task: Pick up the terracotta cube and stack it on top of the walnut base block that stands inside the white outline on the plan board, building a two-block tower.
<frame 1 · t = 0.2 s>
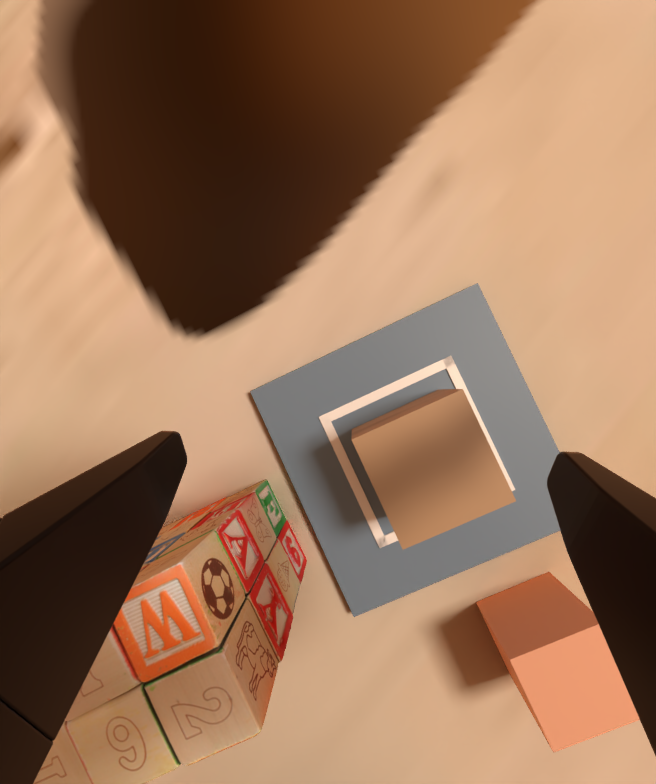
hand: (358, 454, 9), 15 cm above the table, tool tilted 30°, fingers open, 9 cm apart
terracotta cube: (528, 622, 23), on the table
walnut base block: (414, 452, 22), point 1 cm above the table, touching plan board
stack of blocks: (154, 581, 25), on the table
plan board: (413, 450, 23), on the table
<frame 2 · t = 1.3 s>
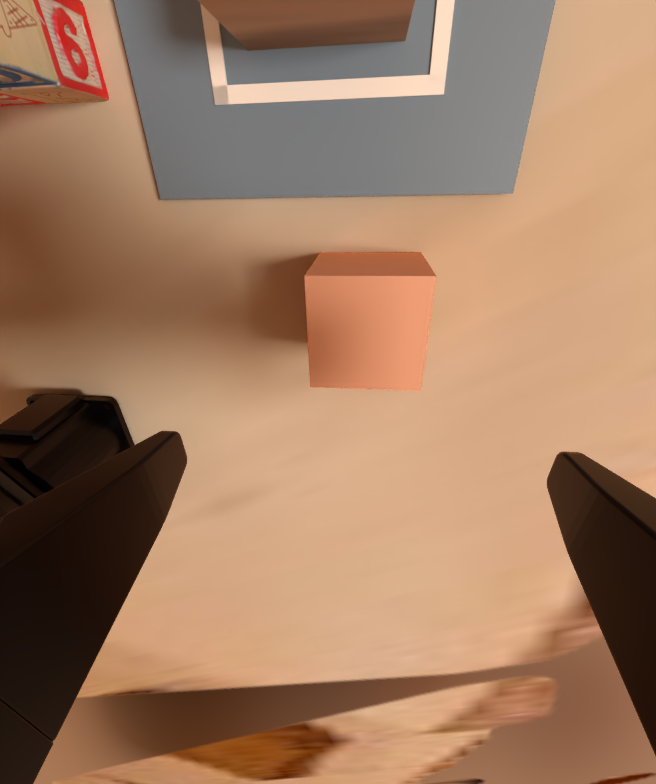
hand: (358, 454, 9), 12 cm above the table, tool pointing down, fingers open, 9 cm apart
terracotta cube: (367, 301, 19), on the table
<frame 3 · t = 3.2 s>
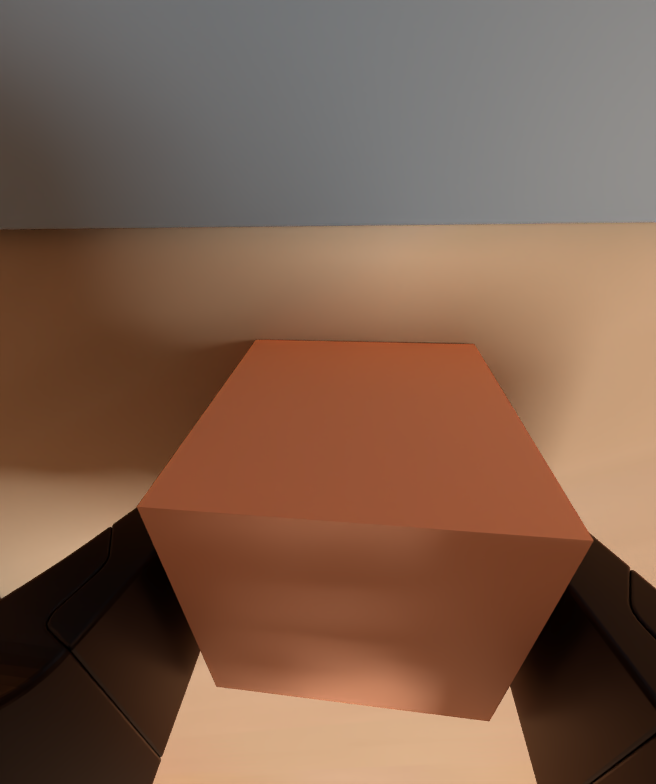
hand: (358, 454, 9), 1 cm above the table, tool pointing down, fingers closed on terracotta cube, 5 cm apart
terracotta cube: (359, 428, 9), on the table, touching gripper
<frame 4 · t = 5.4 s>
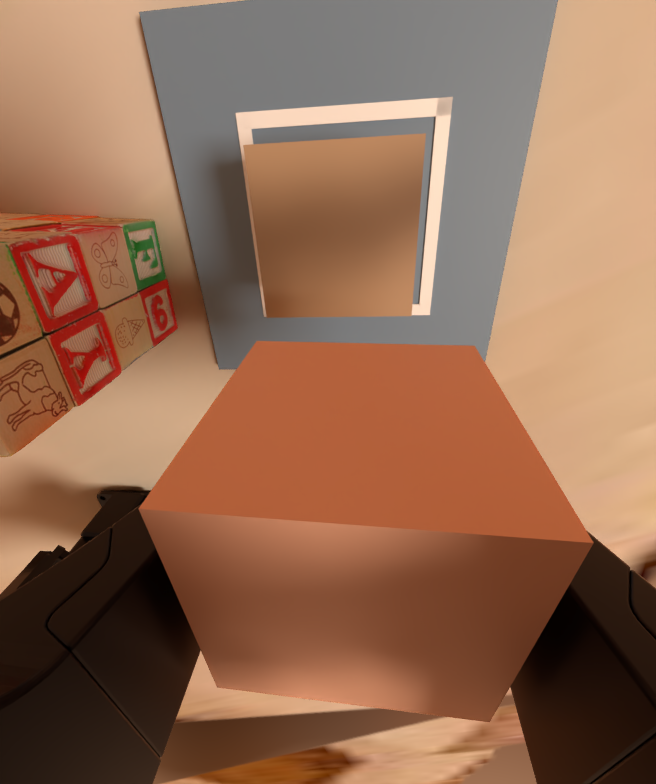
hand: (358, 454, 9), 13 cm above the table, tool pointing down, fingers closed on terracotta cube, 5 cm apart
terracotta cube: (359, 429, 9), point 12 cm above the table, touching gripper
walnut base block: (343, 224, 17), point 1 cm above the table, touching plan board
stack of blocks: (1, 269, 21), on the table
plan board: (343, 223, 18), on the table
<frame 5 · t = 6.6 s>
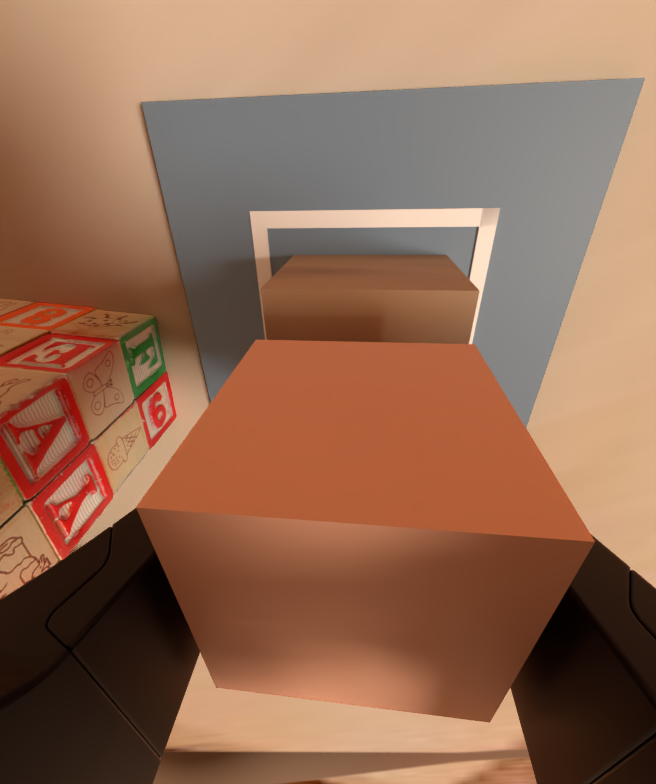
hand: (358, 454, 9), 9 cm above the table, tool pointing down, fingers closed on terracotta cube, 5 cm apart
terracotta cube: (359, 428, 9), point 8 cm above the table, touching gripper
walnut base block: (365, 326, 16), point 1 cm above the table, touching plan board
plan board: (366, 322, 16), on the table
when the fingers open (8 cm above the table, at t = 7.6 s): terracotta cube drops 1 cm, resting on walnut base block.
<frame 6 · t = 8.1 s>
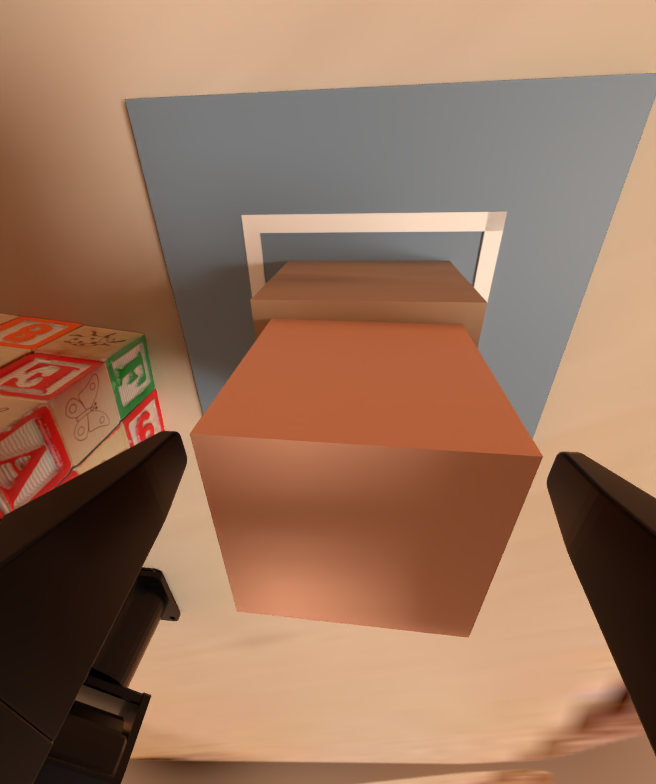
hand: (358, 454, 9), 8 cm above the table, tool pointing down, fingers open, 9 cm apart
terracotta cube: (360, 401, 11), point 6 cm above the table, touching walnut base block
walnut base block: (364, 335, 15), point 1 cm above the table, touching plan board, terracotta cube
plan board: (364, 330, 15), on the table
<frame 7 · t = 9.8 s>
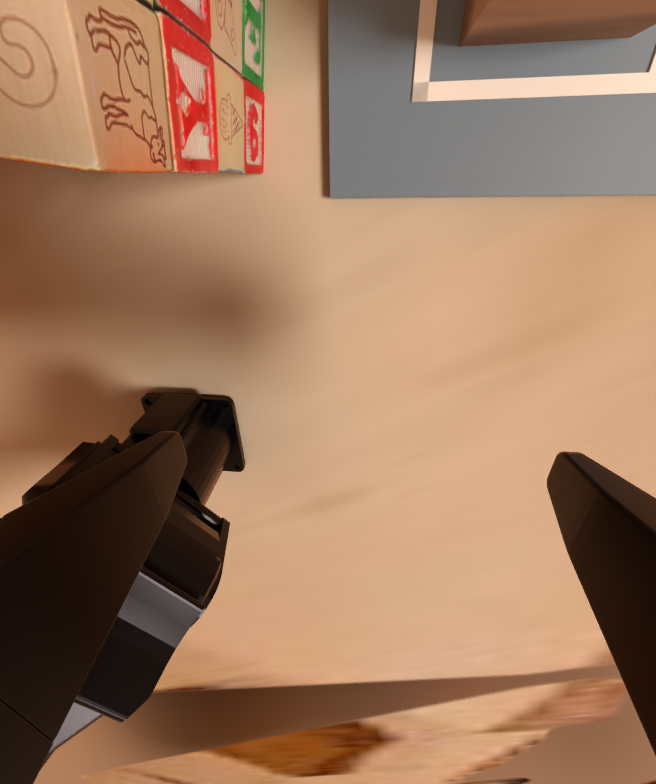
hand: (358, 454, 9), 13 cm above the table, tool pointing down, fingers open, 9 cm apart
stack of blocks: (37, 62, 16), on the table
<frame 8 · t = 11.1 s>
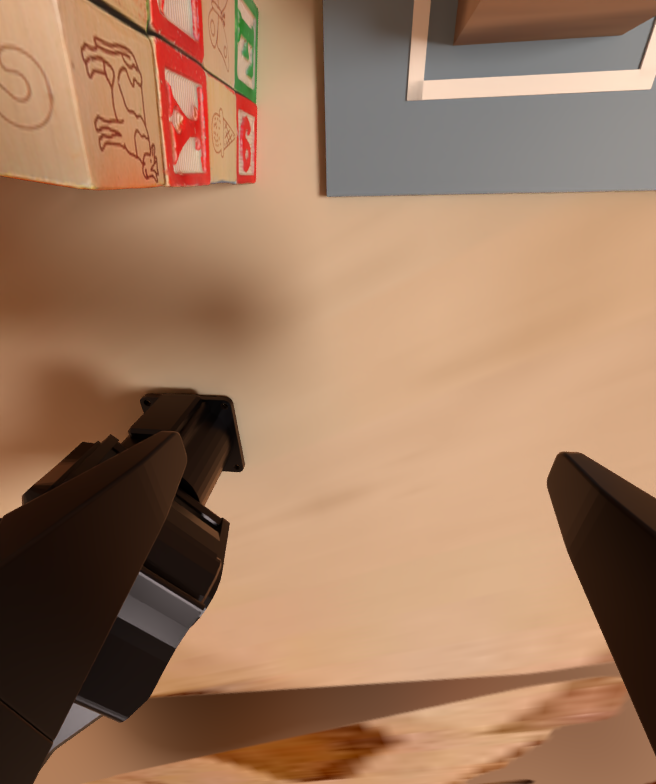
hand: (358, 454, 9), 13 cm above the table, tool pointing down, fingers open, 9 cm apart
stack of blocks: (33, 70, 16), on the table
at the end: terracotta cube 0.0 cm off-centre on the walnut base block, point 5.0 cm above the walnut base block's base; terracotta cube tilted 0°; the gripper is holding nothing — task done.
